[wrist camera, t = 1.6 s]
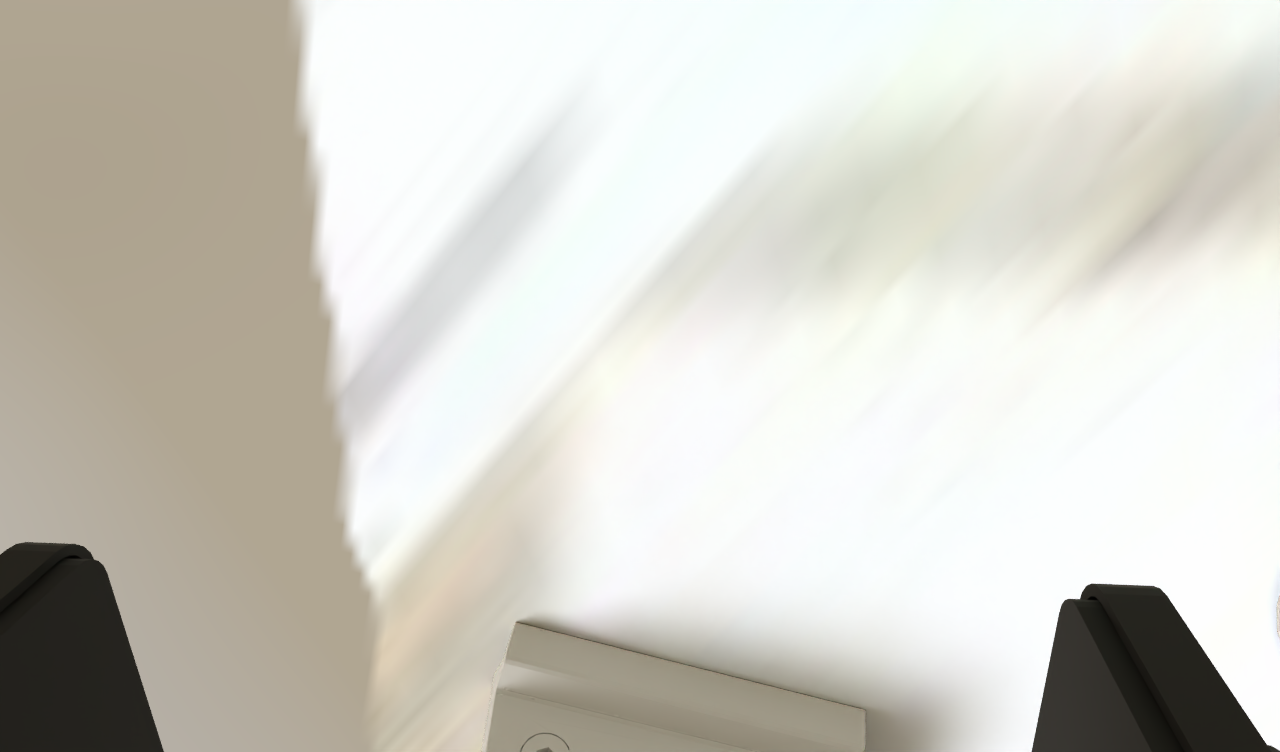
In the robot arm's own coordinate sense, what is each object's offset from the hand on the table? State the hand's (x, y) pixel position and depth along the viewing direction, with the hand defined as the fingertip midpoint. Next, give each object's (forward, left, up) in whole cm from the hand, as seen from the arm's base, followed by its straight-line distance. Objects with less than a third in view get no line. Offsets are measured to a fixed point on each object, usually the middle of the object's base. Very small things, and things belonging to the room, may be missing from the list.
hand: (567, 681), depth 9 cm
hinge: (+9, +24, -25) cm, 36 cm away
